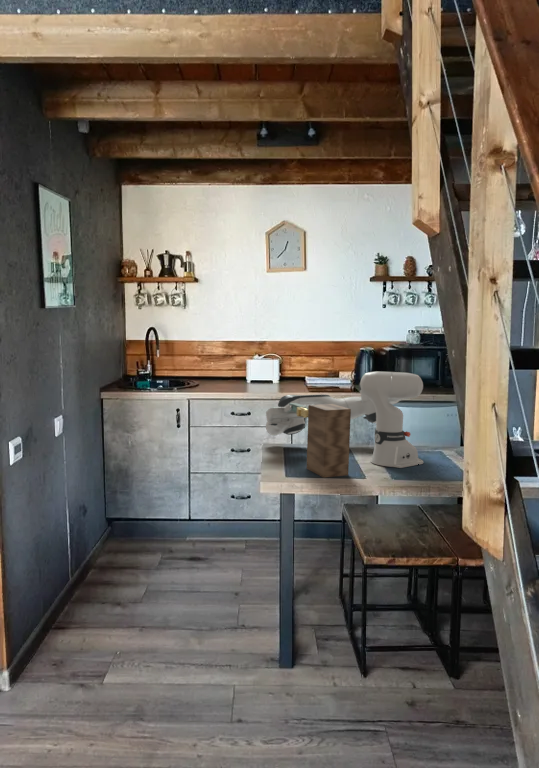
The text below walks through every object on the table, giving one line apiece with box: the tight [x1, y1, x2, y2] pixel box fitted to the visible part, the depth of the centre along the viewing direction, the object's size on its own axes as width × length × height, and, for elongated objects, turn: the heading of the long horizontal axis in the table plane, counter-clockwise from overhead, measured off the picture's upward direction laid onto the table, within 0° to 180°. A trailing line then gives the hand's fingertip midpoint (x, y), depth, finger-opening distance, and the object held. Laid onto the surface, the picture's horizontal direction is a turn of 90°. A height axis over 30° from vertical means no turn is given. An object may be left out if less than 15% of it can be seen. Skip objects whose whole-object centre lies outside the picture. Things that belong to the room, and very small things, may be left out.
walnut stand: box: [306, 404, 351, 479], centre depth 223 cm, size 11×14×26 cm
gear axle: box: [289, 403, 308, 419], centre depth 242 cm, size 10×21×3 cm, turn 23°
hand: (296, 406), depth 248 cm, fingers closed on gear axle, 3 cm apart
